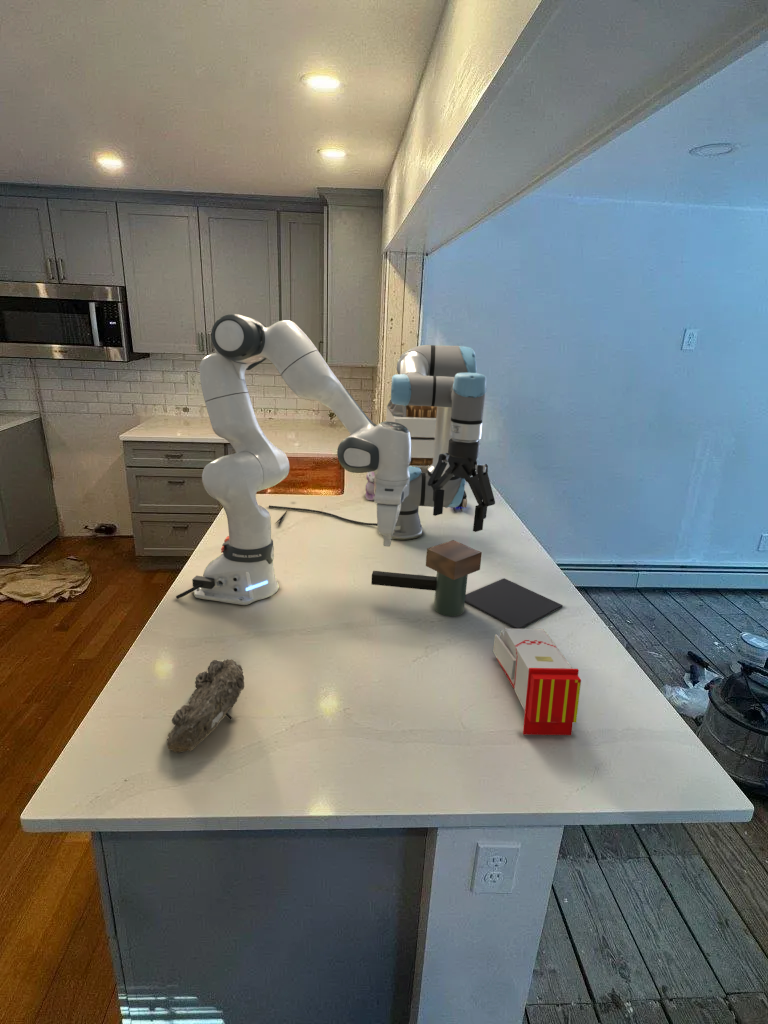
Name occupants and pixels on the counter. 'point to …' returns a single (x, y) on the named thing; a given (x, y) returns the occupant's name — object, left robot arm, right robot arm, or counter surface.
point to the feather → (281, 519)
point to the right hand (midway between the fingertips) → (457, 522)
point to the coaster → (511, 603)
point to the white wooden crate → (416, 429)
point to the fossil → (206, 705)
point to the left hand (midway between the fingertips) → (389, 538)
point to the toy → (539, 680)
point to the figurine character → (462, 502)
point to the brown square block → (453, 559)
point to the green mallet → (430, 588)
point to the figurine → (370, 486)
